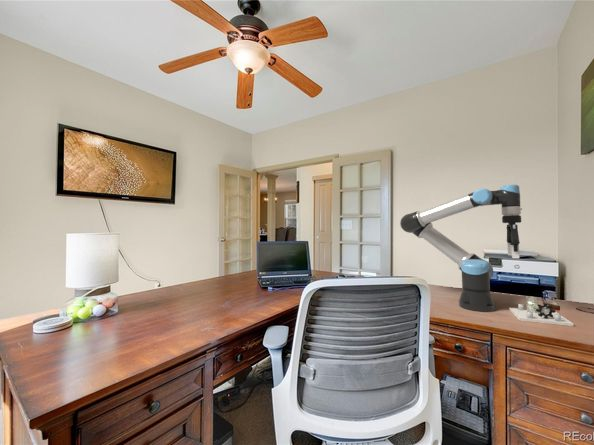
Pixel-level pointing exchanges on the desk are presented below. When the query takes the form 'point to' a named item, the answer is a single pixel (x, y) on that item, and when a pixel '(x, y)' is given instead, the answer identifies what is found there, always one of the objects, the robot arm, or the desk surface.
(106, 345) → the desk surface
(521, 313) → the mounting plate
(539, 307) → the valve
